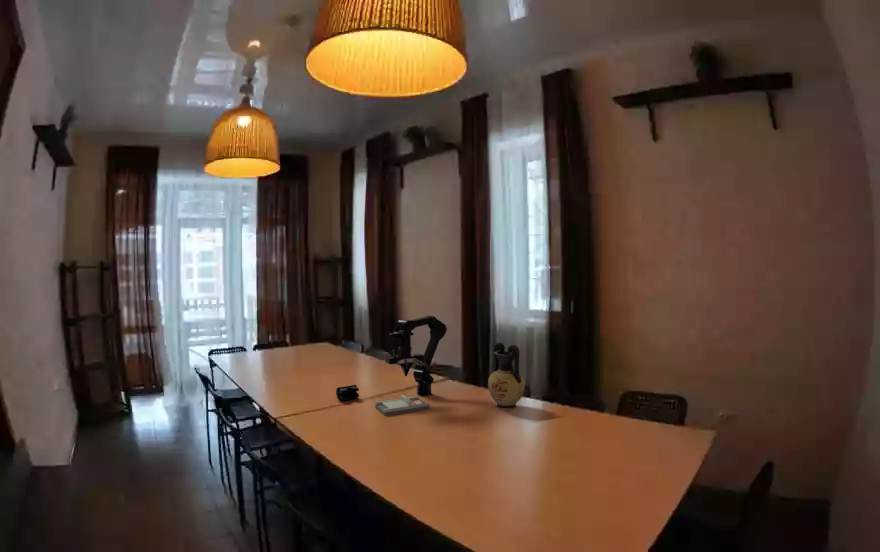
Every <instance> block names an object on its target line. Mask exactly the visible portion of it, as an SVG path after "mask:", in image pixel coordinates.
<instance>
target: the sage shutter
mask: <svg viewBox="0 0 880 552" xmlns="http://www.w3.org/2000/svg"><path fill="white" fill-rule="evenodd" d="M400 399H401V400H396V401H388V402H382V405H384V406H385V407H386V408H387V409H388V408H395V407H402V406H409V405H412V400H410V399H409V397H407V396H406V395H404V394H402V395H400Z"/></svg>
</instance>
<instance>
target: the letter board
mask: <svg viewBox="0 0 880 552" xmlns="http://www.w3.org/2000/svg"><path fill="white" fill-rule="evenodd" d="M408 398H409V399H410V400H412V405H409V406H402V407H395V408H388V409H387V408H386V407H385V406H384V405H382V402H388V401H396V400H401V398H396V399H388V400H382V401H375V403H374V407H375V409H376V410H377V411H378V412H380V413H381V414H382V415H383V416H391V415H397V414H398V415H399V414H405V413H411V412H418V411H425V410H430V402H424V401H423V400H421V399H420V395H417V396H411V397H410V396H409V397H408Z"/></svg>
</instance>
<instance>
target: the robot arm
mask: <svg viewBox="0 0 880 552" xmlns="http://www.w3.org/2000/svg"><path fill="white" fill-rule="evenodd" d="M424 326H427V327H428V328H429V334H430V338H429V339H428V340H429V341H428V344H427V347H426V350H425V351H424V354H422V353H416V354H415V353H414V354H413V355H412V348H413V347H412V342H411V341H412V338H411V337H412V336H414V335H415V334H414V333H413V332H412V331H414V330H415V329H416V328H418V327H424ZM447 330H448V328H447V325H446V324H444V323H443V321H441V320H439V319H438V318H436V316H434V315H425V316H423V317H418V318H413V319H399V320H398V322H397V324H396V326H395V328H394V329H393V332H392V333H391V332H390V333H388V336H387V337H386V340H385V344H386V346H387V347H388V348H389V349H391V348H393V349H392V356H386V359H385V363H387V364H388V365H396V364H398V365H400V367H401V369H402V372H403V374H404V377H407V376H408V375H409V373H410V372H409V371H410V369H411V367H412V365H414V364H415V361H416V360H417V361H418V362H420V363H416V364H415V365H414V366H415V367H414V369H413V370H412V372H413V373H412V374H413V378H414V381H415V383H417V385H416V394H417V396H419V397H425V396H432V395H433V393H432V384H434V381H435V378H434V377H433V376H432V375H431V373H432V369H431V365H432V361H433V359H434V357H435V353H436V351H437V348H438V346H439V343H440V341H441V340H442V339H443V338H444V337H445V335H446V334H447ZM396 347H398V349H397V348H396ZM414 360H415V361H414Z"/></svg>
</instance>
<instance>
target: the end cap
mask: <svg viewBox="0 0 880 552" xmlns="http://www.w3.org/2000/svg"><path fill="white" fill-rule="evenodd" d="M359 391H360V389H359V387H357V384H351V385H344V386H339V387H336V390H335V395H336V398H337V400H338V401H339V402H341V403H348V402H353V401H358V400H359V397H360V393H359Z"/></svg>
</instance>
